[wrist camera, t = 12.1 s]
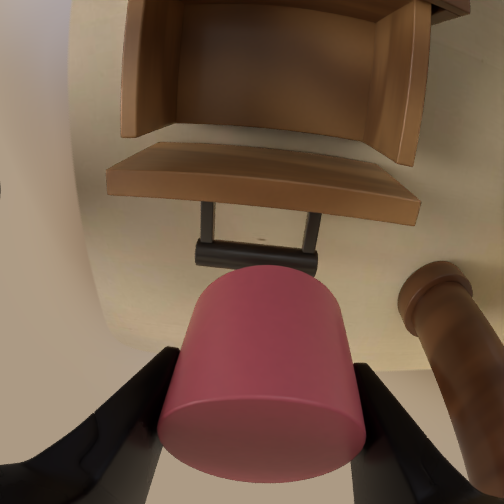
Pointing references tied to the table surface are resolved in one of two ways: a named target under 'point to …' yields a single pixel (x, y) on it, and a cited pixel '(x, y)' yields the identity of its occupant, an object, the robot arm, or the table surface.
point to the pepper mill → (461, 365)
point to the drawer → (274, 109)
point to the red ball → (264, 381)
